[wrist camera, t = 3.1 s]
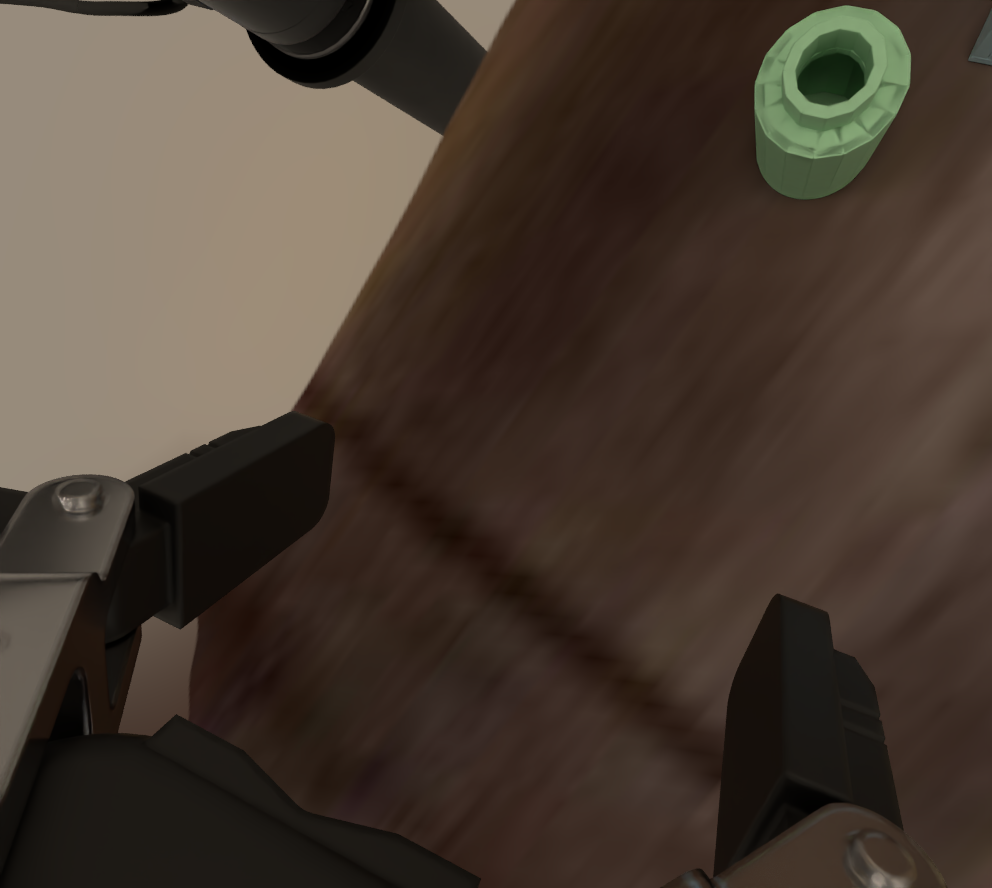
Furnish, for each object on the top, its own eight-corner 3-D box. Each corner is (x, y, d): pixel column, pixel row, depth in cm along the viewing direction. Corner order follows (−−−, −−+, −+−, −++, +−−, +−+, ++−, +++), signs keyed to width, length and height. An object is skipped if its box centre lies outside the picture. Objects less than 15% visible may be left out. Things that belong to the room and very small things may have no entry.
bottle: (740, 184, 31) (731, 127, 23) (782, 76, 30) (790, -28, 21) (844, 212, 30) (877, 163, 21) (893, 100, 29) (950, -1, 20)
